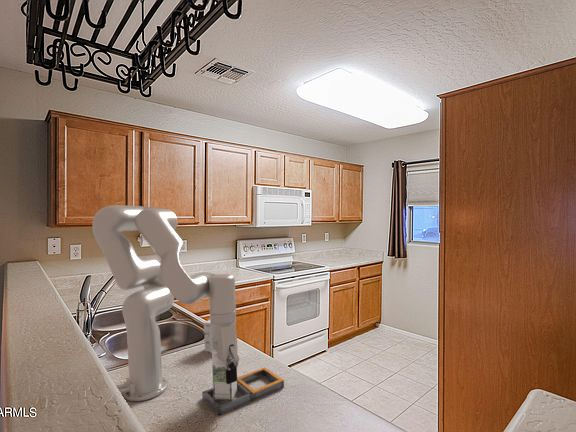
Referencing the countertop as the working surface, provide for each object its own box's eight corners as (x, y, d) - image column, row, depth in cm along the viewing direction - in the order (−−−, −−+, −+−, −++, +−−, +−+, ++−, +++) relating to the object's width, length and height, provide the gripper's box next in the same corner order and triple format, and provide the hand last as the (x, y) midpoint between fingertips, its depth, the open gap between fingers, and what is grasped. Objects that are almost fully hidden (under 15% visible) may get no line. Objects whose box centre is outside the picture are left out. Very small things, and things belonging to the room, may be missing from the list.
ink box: (229, 348, 130) (227, 319, 130) (222, 353, 126) (221, 323, 126) (211, 346, 133) (209, 318, 133) (204, 351, 128) (203, 322, 128)
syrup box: (237, 389, 96) (236, 341, 96) (232, 401, 90) (230, 350, 90) (219, 389, 96) (217, 341, 96) (212, 400, 91) (211, 350, 90)
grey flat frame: (217, 416, 85) (217, 407, 85) (202, 398, 94) (202, 390, 94) (283, 387, 98) (283, 379, 98) (265, 374, 107) (264, 367, 107)
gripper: (199, 312, 98) (201, 369, 98) (224, 327, 84) (226, 393, 84) (222, 308, 102) (224, 362, 102) (248, 321, 88) (250, 384, 88)
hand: (225, 376), depth 93 cm, fingers closed on syrup box, 8 cm apart
